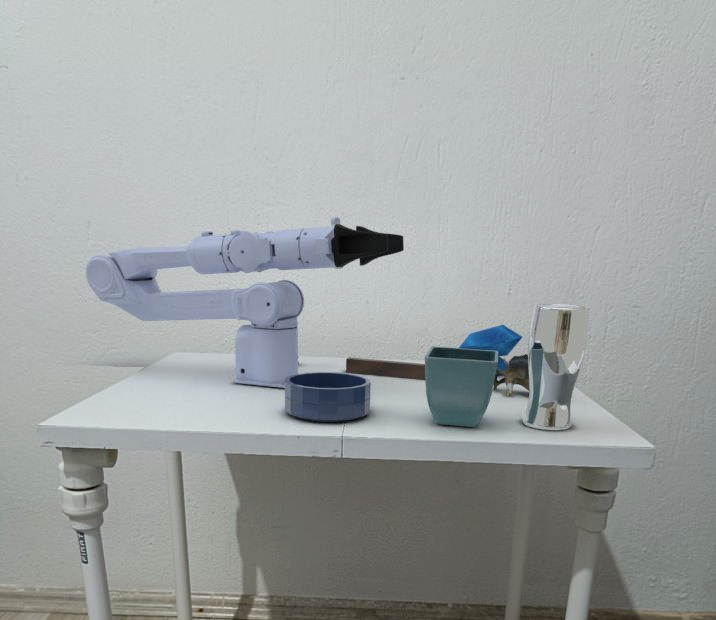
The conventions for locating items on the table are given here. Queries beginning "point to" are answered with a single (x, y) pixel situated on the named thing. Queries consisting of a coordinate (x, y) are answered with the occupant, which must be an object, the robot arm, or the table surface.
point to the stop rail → (385, 368)
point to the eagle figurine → (514, 373)
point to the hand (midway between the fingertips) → (395, 243)
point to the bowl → (327, 396)
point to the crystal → (493, 342)
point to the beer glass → (554, 363)
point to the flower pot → (459, 384)
